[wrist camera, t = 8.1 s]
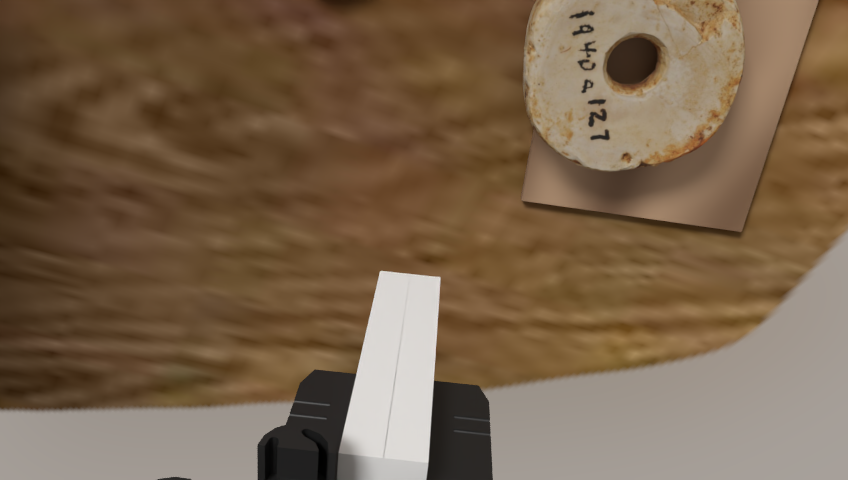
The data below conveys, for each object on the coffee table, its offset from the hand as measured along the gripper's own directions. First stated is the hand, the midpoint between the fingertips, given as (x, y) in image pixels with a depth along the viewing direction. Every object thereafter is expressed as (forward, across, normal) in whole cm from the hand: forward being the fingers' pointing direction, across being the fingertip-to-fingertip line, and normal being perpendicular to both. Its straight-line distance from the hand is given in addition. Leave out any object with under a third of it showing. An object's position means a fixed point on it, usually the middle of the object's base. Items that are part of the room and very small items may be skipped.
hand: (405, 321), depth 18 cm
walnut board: (+22, +11, +2) cm, 25 cm away
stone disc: (+20, +4, +3) cm, 20 cm away
